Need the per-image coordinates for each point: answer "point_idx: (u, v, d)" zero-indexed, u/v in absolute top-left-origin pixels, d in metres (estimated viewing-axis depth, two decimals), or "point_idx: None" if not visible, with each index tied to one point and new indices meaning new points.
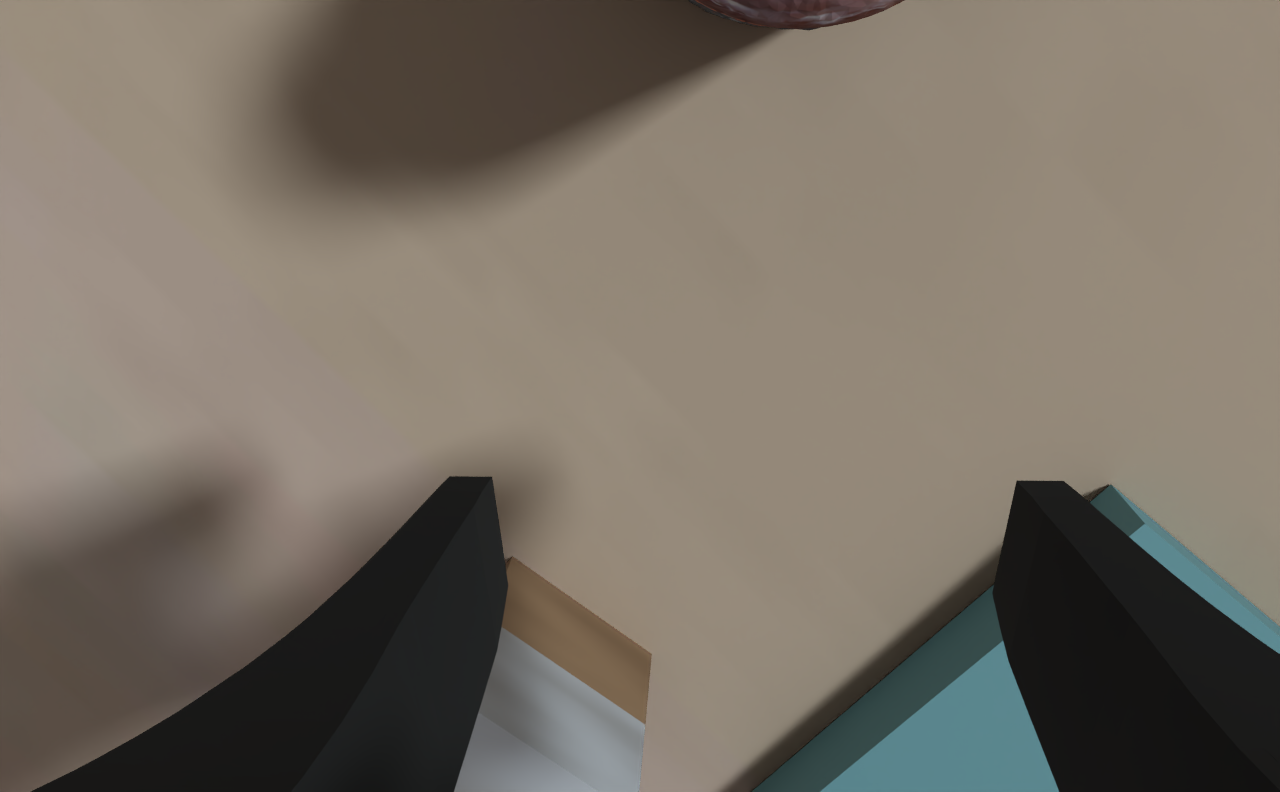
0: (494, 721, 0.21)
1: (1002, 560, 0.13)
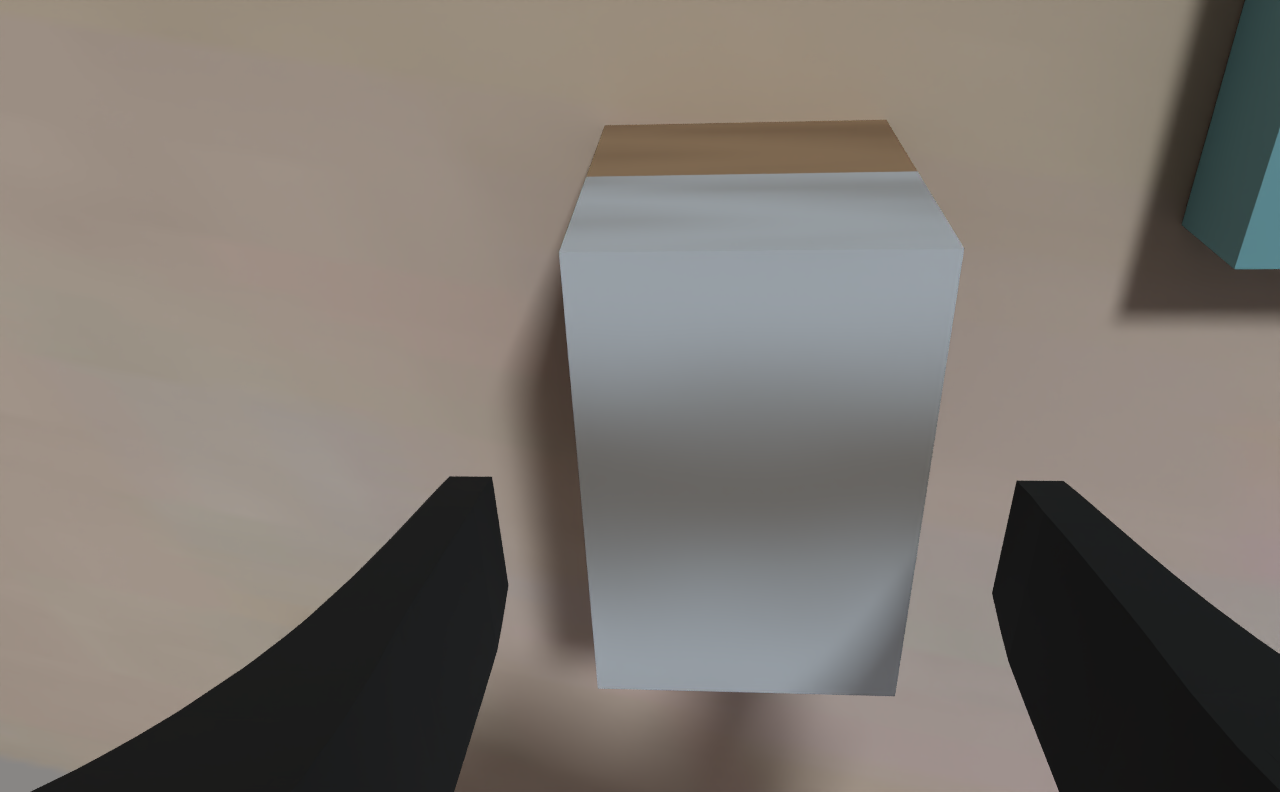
0: (633, 250, 0.12)
1: (1002, 560, 0.13)
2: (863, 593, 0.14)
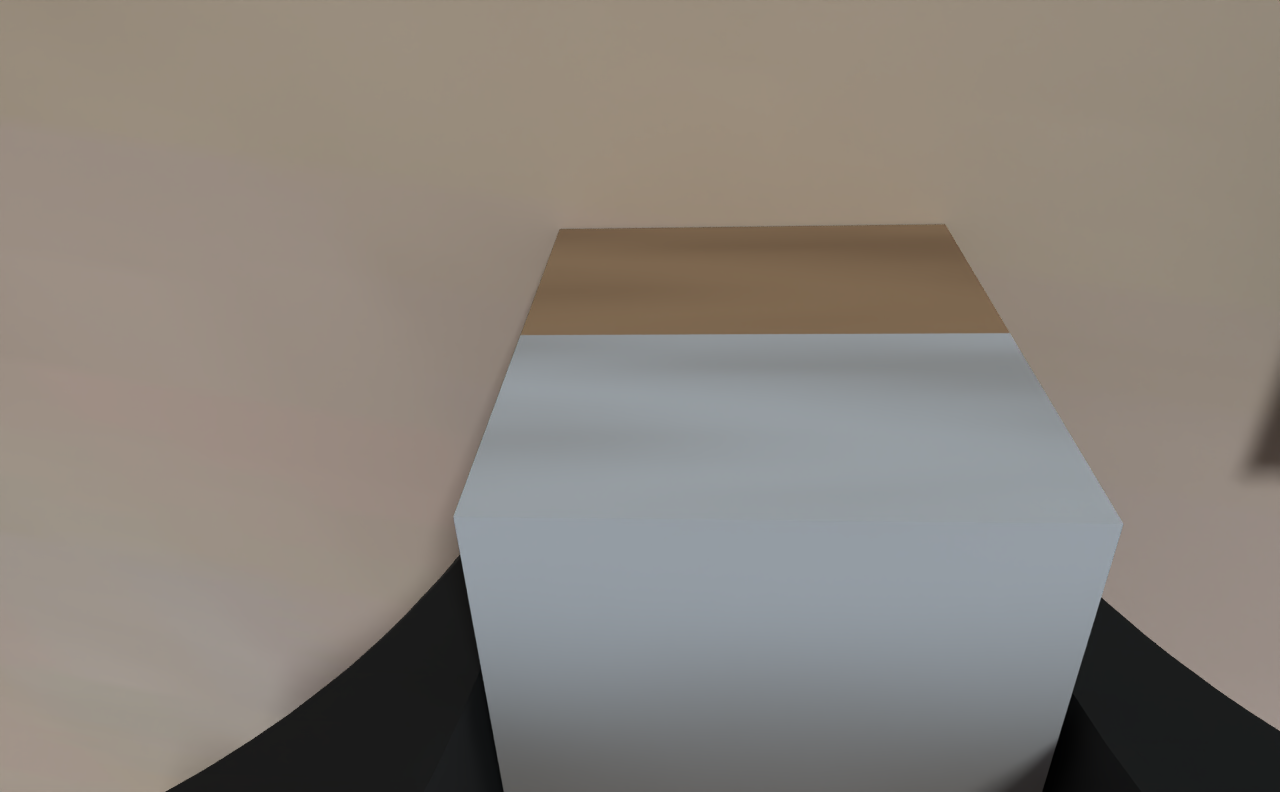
0: (574, 514, 0.07)
1: None
2: None
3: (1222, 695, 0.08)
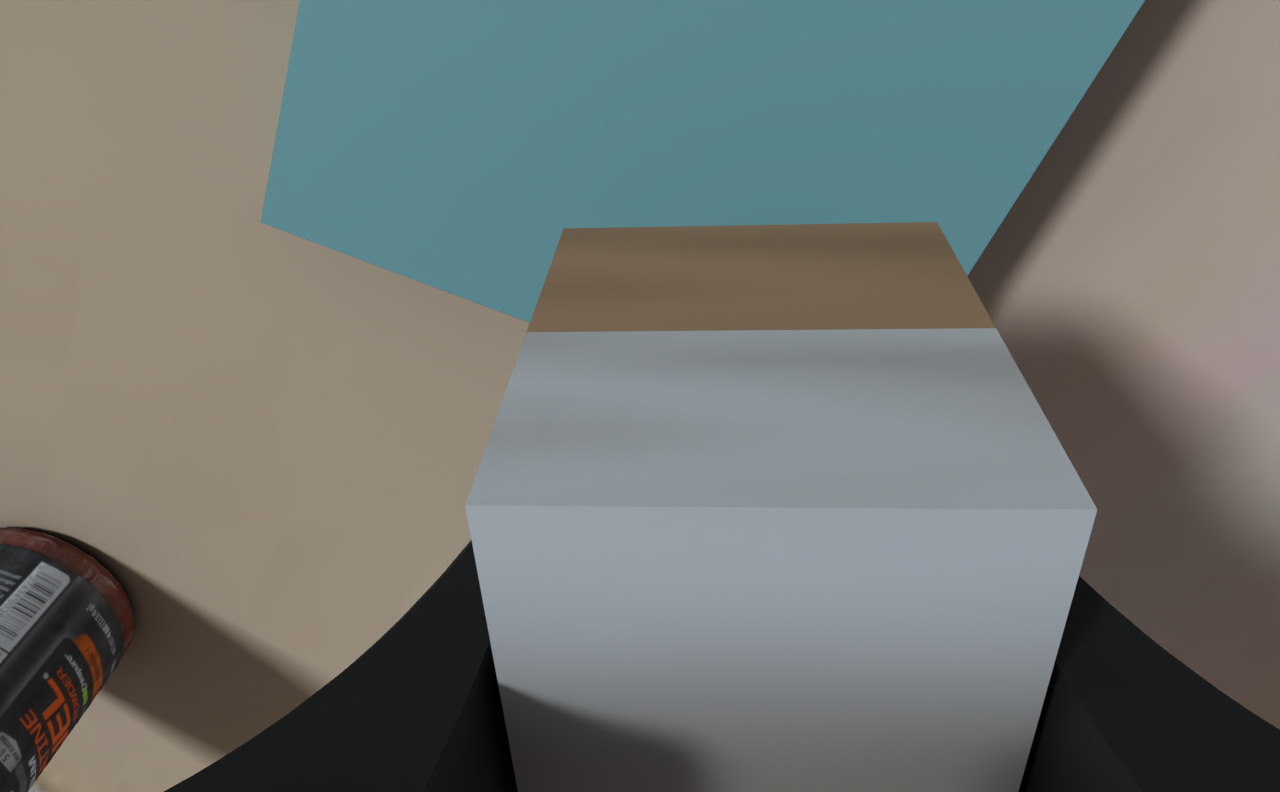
0: (581, 502, 0.08)
1: None
2: None
3: (1223, 695, 0.08)
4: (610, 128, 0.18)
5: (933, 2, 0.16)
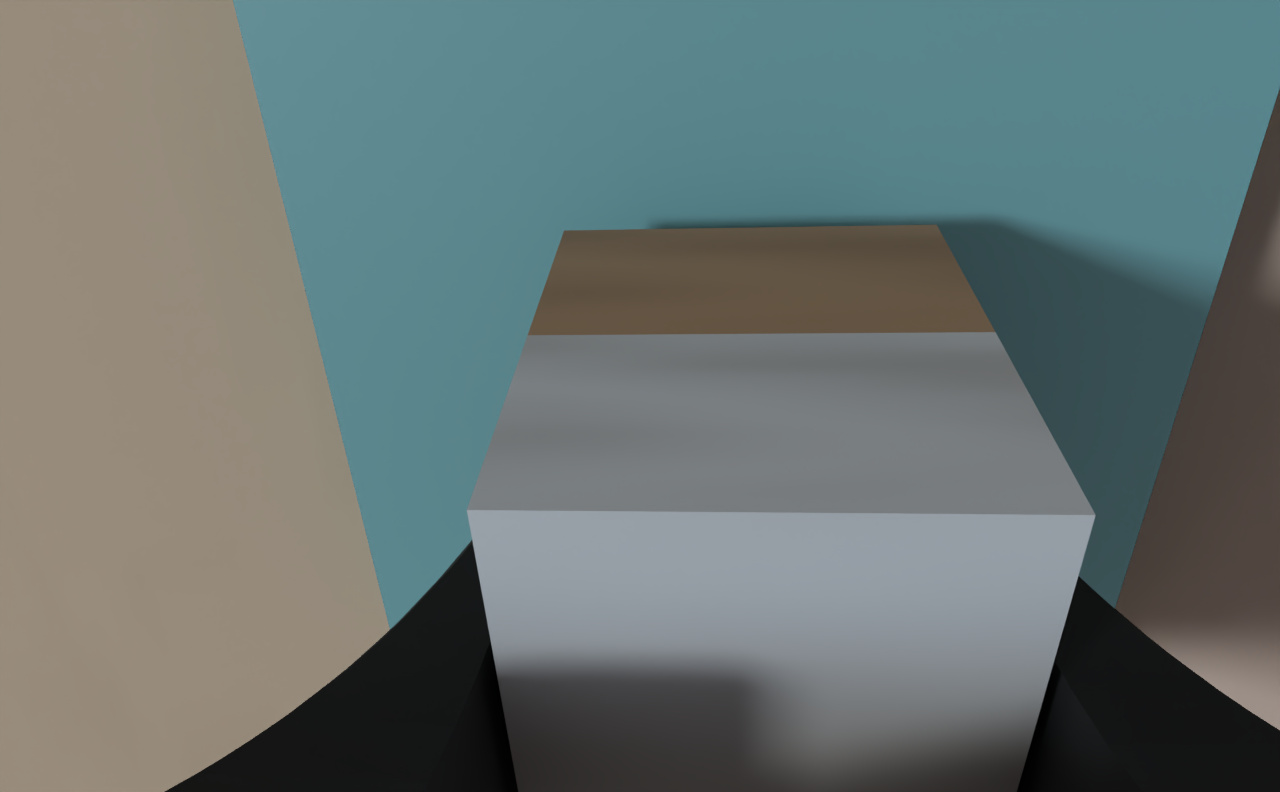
0: (581, 507, 0.08)
1: None
2: None
3: (1223, 695, 0.08)
4: None
5: None
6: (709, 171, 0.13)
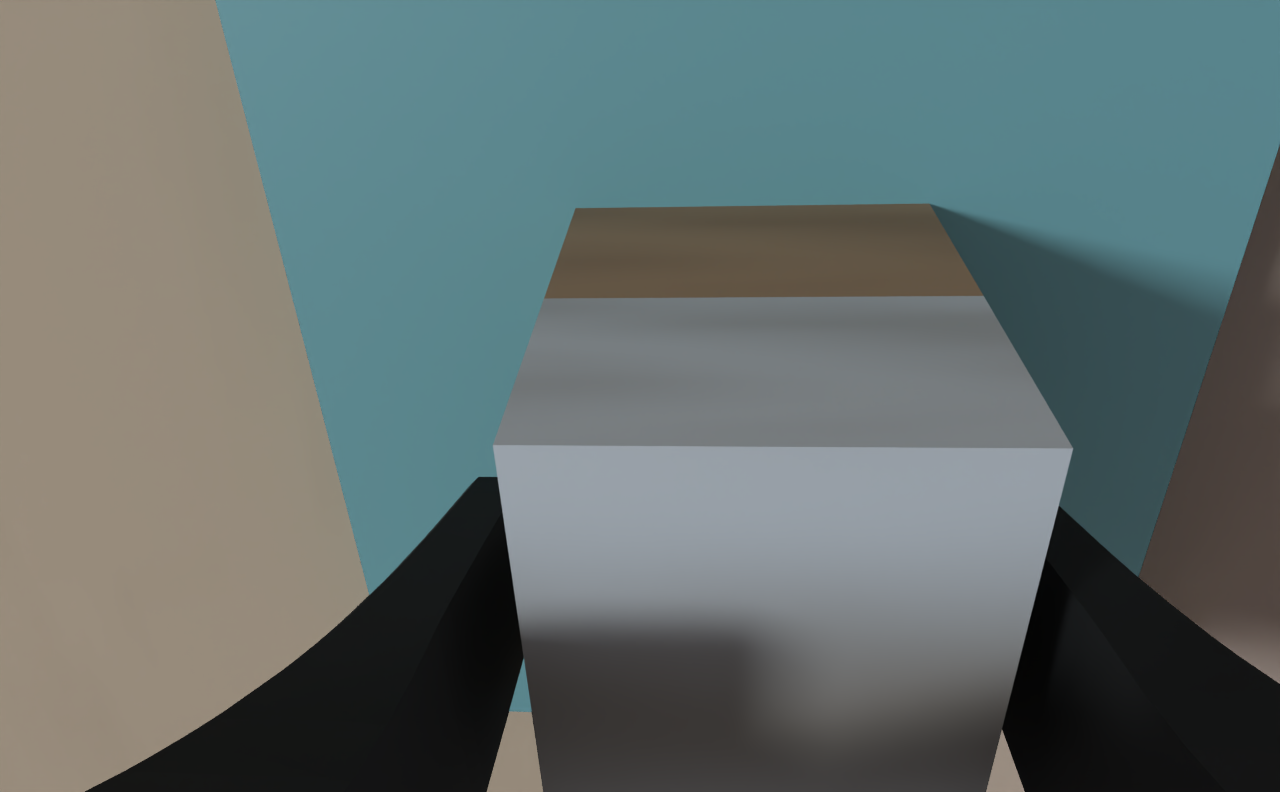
0: (599, 442, 0.08)
1: None
2: None
3: None
4: None
5: None
6: (707, 181, 0.13)
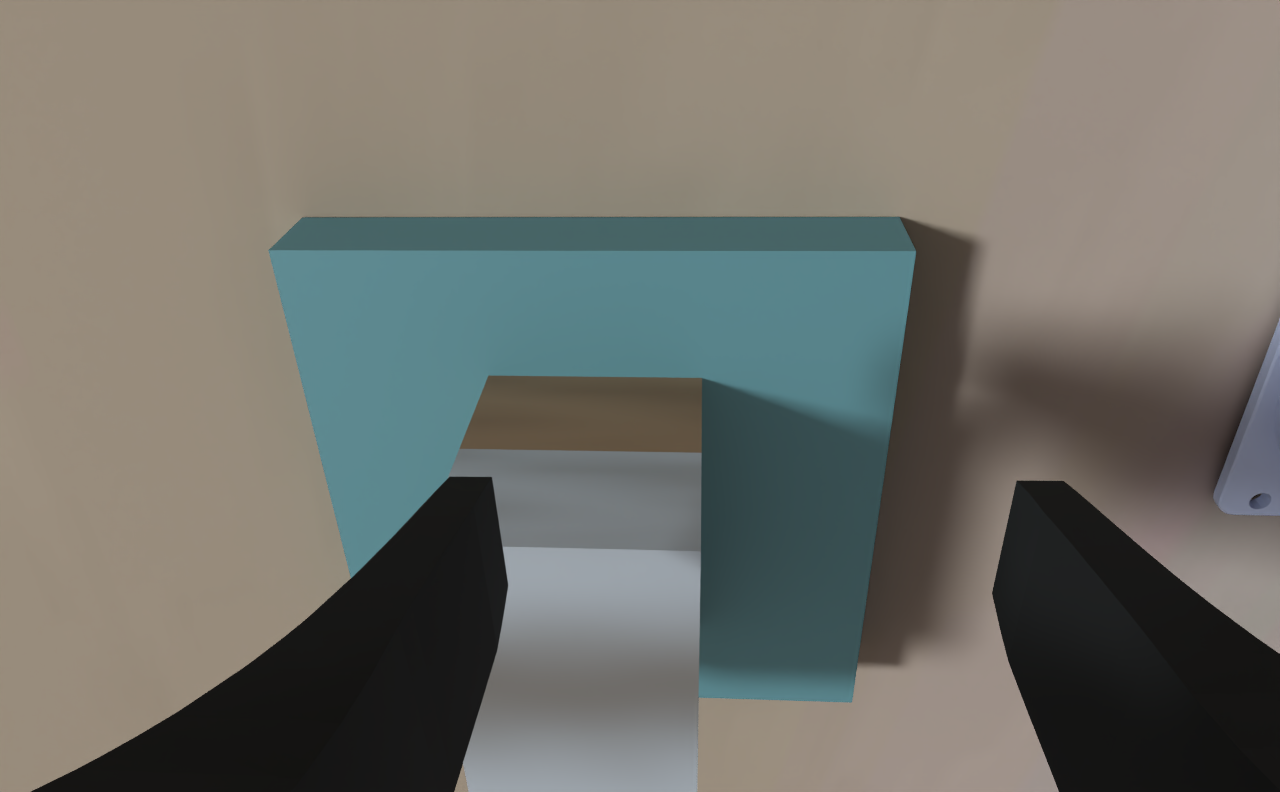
0: None
1: (1002, 560, 0.13)
2: (662, 759, 0.19)
3: None
4: None
5: (747, 447, 0.22)
6: (567, 362, 0.21)
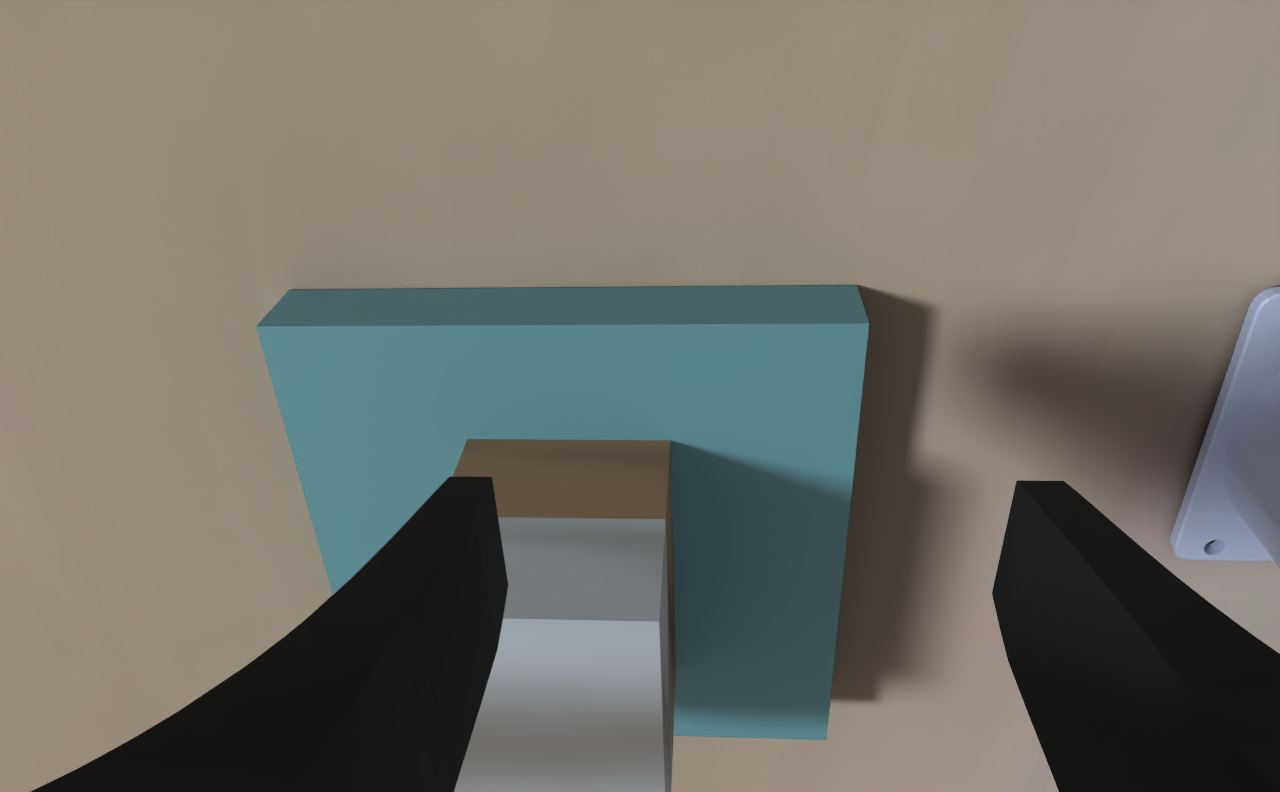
0: None
1: (1002, 560, 0.13)
2: None
3: None
4: None
5: (716, 503, 0.23)
6: (542, 426, 0.22)
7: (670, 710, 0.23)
